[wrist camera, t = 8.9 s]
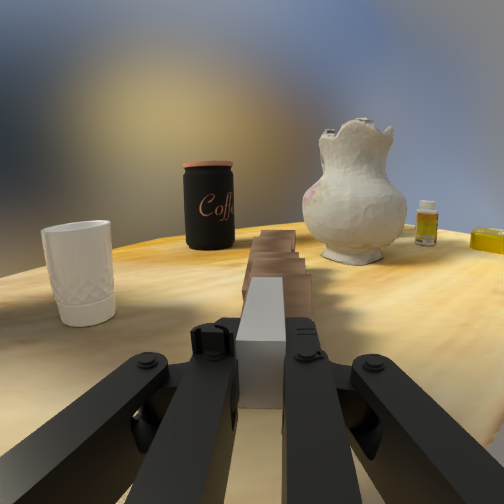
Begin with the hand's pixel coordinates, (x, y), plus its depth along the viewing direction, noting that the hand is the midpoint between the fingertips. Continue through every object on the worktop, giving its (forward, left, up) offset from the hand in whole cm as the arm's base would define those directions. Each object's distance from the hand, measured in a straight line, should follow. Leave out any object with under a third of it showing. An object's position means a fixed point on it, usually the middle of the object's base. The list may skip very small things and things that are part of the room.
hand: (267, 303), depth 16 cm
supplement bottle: (+36, +53, -7) cm, 65 cm away
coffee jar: (-14, +51, -7) cm, 54 cm away
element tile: (+57, +49, -8) cm, 75 cm away
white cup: (-20, +12, -7) cm, 25 cm away
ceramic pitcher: (+14, +42, -7) cm, 45 cm away
